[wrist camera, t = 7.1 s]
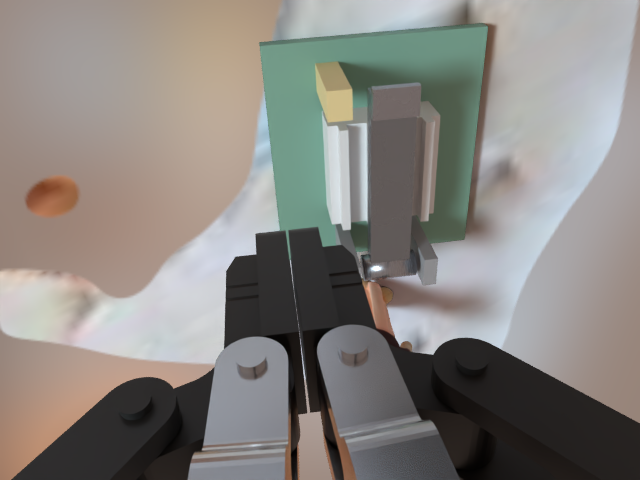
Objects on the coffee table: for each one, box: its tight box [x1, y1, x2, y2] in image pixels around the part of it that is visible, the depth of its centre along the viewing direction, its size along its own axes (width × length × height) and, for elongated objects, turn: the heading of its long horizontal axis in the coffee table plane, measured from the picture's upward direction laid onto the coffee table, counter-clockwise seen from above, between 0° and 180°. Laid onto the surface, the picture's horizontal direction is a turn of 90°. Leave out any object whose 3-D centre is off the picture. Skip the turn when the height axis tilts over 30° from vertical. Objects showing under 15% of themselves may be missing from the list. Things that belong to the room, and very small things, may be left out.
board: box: [259, 23, 488, 285], centre depth 41 cm, size 18×16×8 cm
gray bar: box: [360, 82, 421, 281], centre depth 39 cm, size 16×4×2 cm, turn 3°
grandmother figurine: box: [362, 279, 412, 352], centre depth 47 cm, size 8×4×13 cm, turn 71°
